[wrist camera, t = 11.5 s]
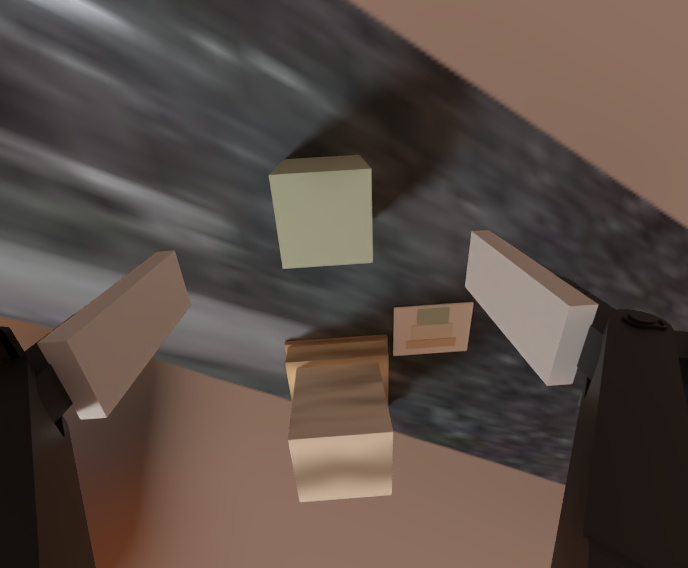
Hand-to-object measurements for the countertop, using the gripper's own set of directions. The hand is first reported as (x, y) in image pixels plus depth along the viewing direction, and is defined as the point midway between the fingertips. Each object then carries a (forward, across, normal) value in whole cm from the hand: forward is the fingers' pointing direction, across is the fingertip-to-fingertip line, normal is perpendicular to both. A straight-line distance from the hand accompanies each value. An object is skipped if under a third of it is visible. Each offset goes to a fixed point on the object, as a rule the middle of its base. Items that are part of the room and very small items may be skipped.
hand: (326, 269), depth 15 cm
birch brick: (+12, 0, -19) cm, 23 cm away
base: (+15, 0, -20) cm, 24 cm away
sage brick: (+15, 0, 0) cm, 15 cm away
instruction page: (+15, +10, -14) cm, 23 cm away
